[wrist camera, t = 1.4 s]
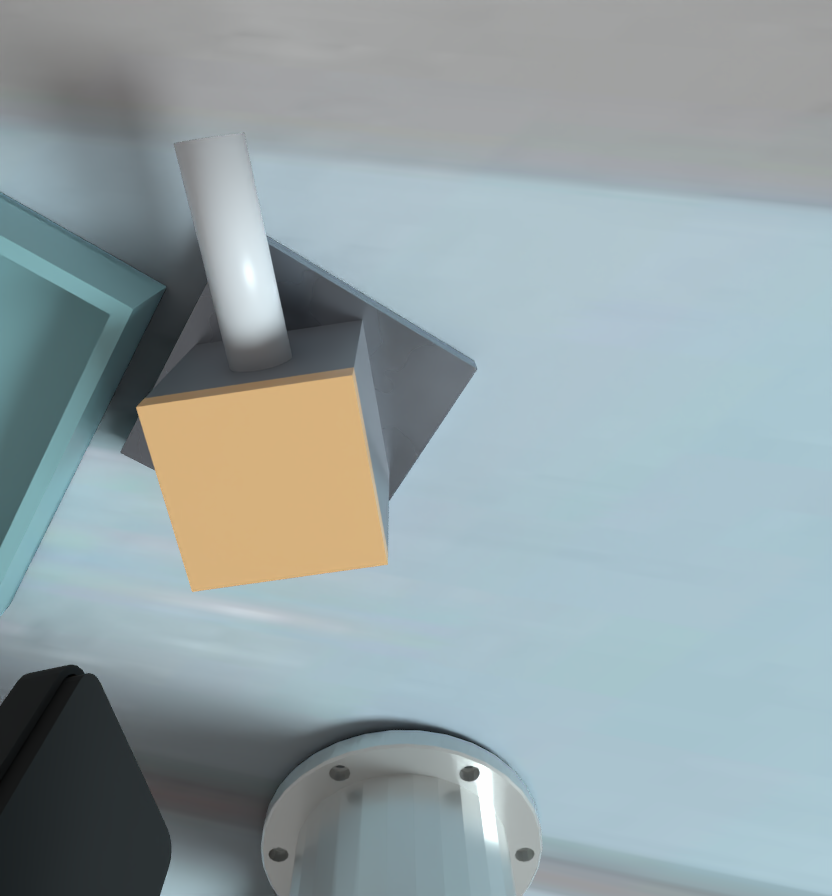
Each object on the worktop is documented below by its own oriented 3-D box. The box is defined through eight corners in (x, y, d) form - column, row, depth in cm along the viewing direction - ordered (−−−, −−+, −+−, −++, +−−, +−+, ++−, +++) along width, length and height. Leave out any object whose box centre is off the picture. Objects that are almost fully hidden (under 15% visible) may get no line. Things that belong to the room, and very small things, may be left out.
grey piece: (346, 553, 29) (336, 644, 24) (129, 442, 27) (66, 514, 22) (474, 361, 27) (494, 416, 21) (242, 221, 25) (200, 245, 19)
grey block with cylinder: (389, 473, 27) (387, 564, 21) (235, 495, 27) (192, 591, 22) (328, 122, 23) (305, 119, 17) (144, 152, 23) (59, 158, 17)
